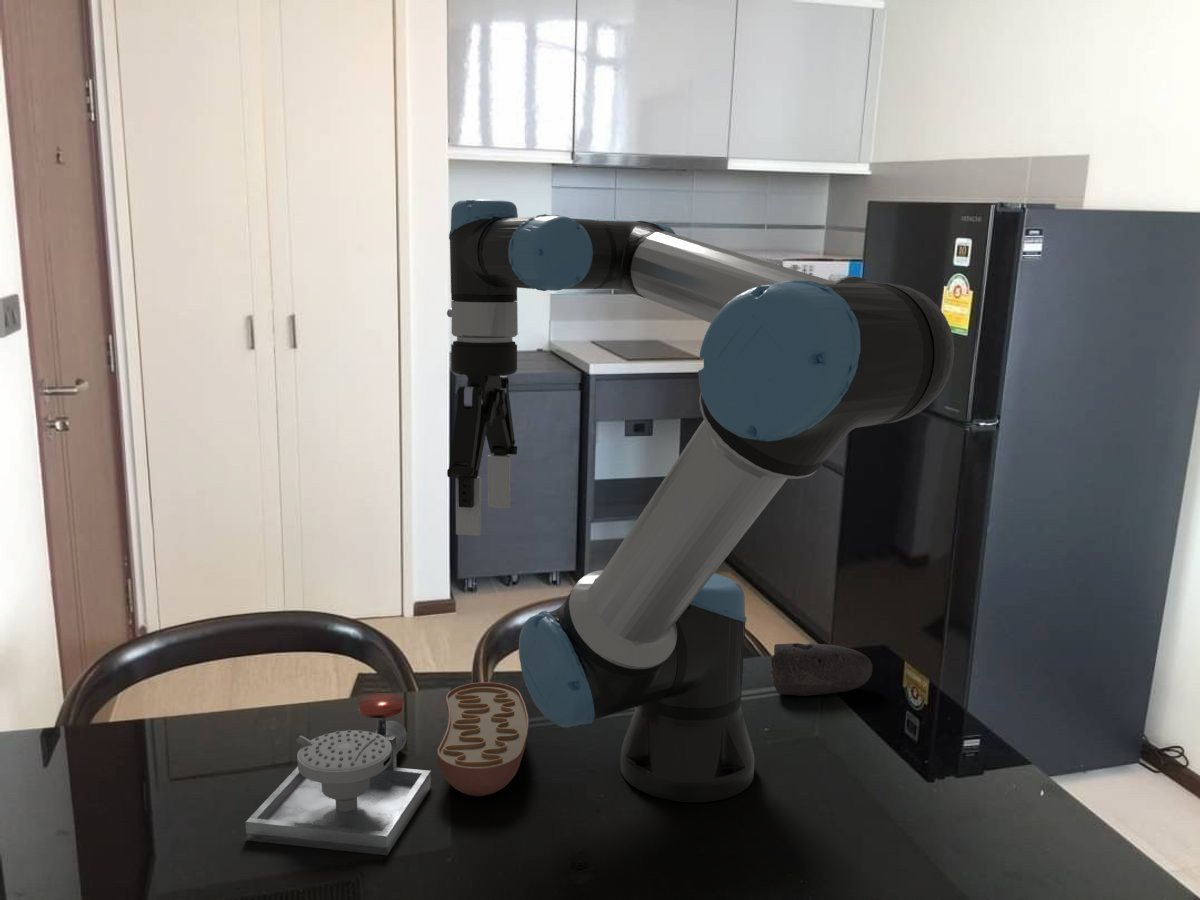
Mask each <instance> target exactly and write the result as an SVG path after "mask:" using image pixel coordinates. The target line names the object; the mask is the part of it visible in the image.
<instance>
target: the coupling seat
mask: <svg viewBox="0 0 1200 900" xmlns="http://www.w3.org/2000/svg"><path fill="white" fill-rule="evenodd" d="M357 704H358V705H357V706H358V709H357V710H358V713H359V714H360V715H362V716H363V717H366V718H371V719H376V730H375V731H374V733H376V734H379V735H382V736H384V737H385V738H387V739H388V740H389V741H390V743H391V746H392V754H391V762H390V764H389V766H388V767H387V768H386V769H385V770H384V771H382V772H381V773H379V774H377V775H375V776H373V777H371V778H370V787H369V789H368V790H367V791H366V792H365V793H364V794H362V795H361V796H359V797H357V808H355V809H354V810H352V811H348V812H341V811H338V810H337V809H336V800H335V799H331V798H329V797H327V796H325V795H324V794H323V792H322V783H319V782H315V781H312V780H309V779H307V778H305V777H304V776H302V775H301V773H300V772H299V770H298V766H296V767H295V769H294V770H293V771H292V772H291V773H290V774H289V775H288V776H287V778H284V780H283V781H282V783H280V784H279V786H278V787H277V788H276V789H275V790H274V791H273V792H272V793H271V794H270V795H269V796H268V797H267V798H266V800H265V801H263V803H262V804H260V806H259V807H258V808H257V809H256V810H255V811H254V812H253V813H252V814H251V815H250V816H249V818H248V819H247V820H246V821H245V834H246V835H245V840H246V841H249V842H256V843H257V842H258V843H265V844H267V843H268V844H274V845H275V844H277V845H286V846H295V847H304V848H313V849H321V850H322V849H323V850H334V851H343V852H353V853H360V854H361V853H362V854H371V855H379V856H380V855H381V856H388V854H390V852H391V850H392V849H393V847H395V844H396V843H397V841H398V839H399V838H400V836H401V835H402V833H403V832H404V831H405V829H406V827H407V825H408V824H409V822H410V821H411V819H412V818H413V816H414V814H416V812H417V810H418V809H419V807H420V806H421V804H422V802H423V800H425V798H426V796H427V795H428V793H429V791H430V790H431V788H432V773H431V772H432V771H431V770H427V769H415V768H406V767H405V768H404V767H403V768H402V767H398V766H397V755H398V754H399V752H400V751H401V750H402V749H403V747H404V746H405V744H406V743H407V741H408V733H407V729H406V728H405V726H404V725H403V724H402V723H400V722H398V721H396V720H387V719H386V718H391V717H394V716H396V715H398V714H400V713H401V712H402V711H403V710H404V698H403V697H402V696H401V695H398V694H396V693H389V692H388V693H387V692H383V693H382V692H379V693H373V694H369V695H366V696H363V697H362V698H361V699H359V701H358V703H357Z"/></svg>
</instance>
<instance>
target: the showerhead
mask: <svg viewBox="0 0 1200 900" xmlns="http://www.w3.org/2000/svg"><path fill="white" fill-rule="evenodd" d="M296 742H297V743H299V744H300V745H301V747H300V748H299V749H298V751H297V754H296V759H297V760H296V762H297V767H298V770H299V772H300V773H301V775H302V776H304V777H305V778H307V779H309V780H312V781H315V782H319V783H322V792H323V794H324V795H325V796H327V797H329V798H331V799H335V800H336V809H337V810H338V811H341V812H348V811H352V810H354V809H355V808H357V797H359V796H361V795H362V794H364V793H365V792H366V791H367V790H368V789H369V787H370V778H371V777H373V776H375V775H377V774H379V773H381V772H382V771H384V770H385V769H386V768H387V767H388V766H389V764H390V762H391V754H392V746H391V743H390V741H389V740H388V739H387V738H385V737H384V736H382V735H379V734H376V733H375V732H373V731H367V730H363V729H359V730H355V729H354V730H352V729H347V730H342V731H340V730H336V731H334V732H330V733H324V734H323V735H320V736H316V737H315V738H312V739H311V740H310V739H309V738H307V737H305V736H303V735H299V736H298V737H297V738H296Z"/></svg>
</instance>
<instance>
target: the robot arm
mask: <svg viewBox="0 0 1200 900" xmlns="http://www.w3.org/2000/svg"><path fill="white" fill-rule="evenodd" d="M450 212H451V215H450V231H449V234H448V239H449V258H450V259H449V263H450V266H449V267H450V295H451V298H450V300H451V302H450V303H451V308H448V309H447V312H446V316H448V318H451V334H452V335H453V337H456V340H453V341H452V343H451V344H450V348H451V350H450V352H451V353H450V355H451V357H450V360H451V361H450V362H451V364H450V367H451V368H450V369H451V371H452V372H453V373H454V374H455V375H461V376H466V377H467V381H466V386H458V387H457V390H456V395H457V397H456V399H457V401H456V413H455V419H454V420H455V421H454V428H453V437H452V444H451V453H450V459H449V467H448V469H447V470H446V471H447V473H446V475H447V478H454V479H455V535H459V536H476V537H477V536H478V537H480V536H481V535H482V477H481V476H479V472H480V467H481V461H482V457H483V453H484V452H483V451H484V447H485V440H486V441H487V443H488V444H487V445H488V447H489V452H490V454H488V455H487V508H490V509H491V508H492V509H510V508H511V456H512V455H517V454H518V446H517V445H516V440H515V439H516V438H515V432H514V424H513V416H512V409H511V400H510V391H509V390H510V389H509V388H510V387H509V383H510V379H509V376H511V375H513V374H515V373H516V372H517V371H518V344H517V343H516V342H515V341H514V340H513V338H515V337H517V335H519V333H518V330H519V328H518V324H519V323H518V316H519V315H518V288H519V289H529V290H537V291H540V292H541V291H542V292H546V291H554V292H555V291H562V290H617V291H618V290H620V291H625V292H628V293H630V294H633V295H635V296H639V297H641V298H644V299H647V300H650V301H652V302H655V303H657V304H661V305H663V306H665V307H668V308H671V309H673V310H675V311H677V312H678V311H679V312H681V313H684V314H686V315H688V316H692V317H693V318H697V319H700V320H702V321H705V322H707V323H710V324H709V326H708V329H707V331H706V332H705V335H704V337H703V340H702V343H701V346H700V352H699V359H702V360H703V367H702V368H700V369H698V372H697V373H698V383H699V388H700V395H699V408H700V412H701V416H702V418H703V420H702V421H701V423H700V424H699V426H698V428H697V429H696V430H695V432H694V434H692V437H691V438H690V440H689V441H688V443H687V444H686V446H685V447H684V448H683V450H682V452H681V453H680V455H679V456H678V457H677V459H676V460H675V462H674V464H673V465H672V467H671V468H670V470H669V471H668V472H667V475H666V476H665V477H664V478H663V480H662V482H661V483H660V485H659V486H658V487H657V489H656V490H655V492H654V494H653V496H652V497H651V498H650V500H649V501H648V503H647V505H646V506H645V507H644V509H643V510H642V512H641V513H640V514H639V516H638V518H637V519H636V521H635V522H634V524H632V525H633V526H632V527H631V528H630V530H629V531H628V533H627V535H626V536H625V537H624V539H623V540H622V541H621V544H620V545H619V546H618V547H617V549H616V551H615V552H614V554H613V556H612V557H611V559H610V560H609V562H608V563H607V565H606V566H605V568H604V569H600V570H594V571H592V572H589V573H586V574H585V575H584V576H583V577H581V578H580V579H579V580H578V581H577V582H576V583H575V585H574V586H573V588H572V589H571V590H570V593H569V594H568V596H567V597H566V598H565V600H564V602H563V603H562V604H561V605H560V606H559V607H558V608H556V609H554V610H552V611H546V610H544V611H540V612H538V613H537V614H534V615H532V616H530V617H529V618H528V619H527V620H526V621H525V622H523V625H522V627H521V630H520V633H519V638H518V657H519V662H520V669H521V673H522V674H521V675H522V677H523V680H524V684H525V686H526V689H527V691H528V694H529V695H530V698H531V699H532V701H533V703H534V705H535V706H536V708H537V709H538V711H540V713H541V714H542V715H543V716H544V717H545V718H546V719H547V720H548V721H550V722H551V723H554V724H555V725H556V726H559V727H561V728H571V727H576V726H580V725H591V724H592V723H594V721H596V720H600V719H603V718H606V717H609V716H612V715H616V714H618V713H621V712H624V711H628V710H630V709H634V712H633V714H632V717H631V721H630V723H629V725H628V727H627V731H626V734H625V736H624V738H623V741H622V742H623V743H622V745H621V747H620V748H621V749H620V773H621V775H622V776H623V778H624V779H625V781H626V782H628V784H629V785H631V786H632V787H634V788H636V789H637V790H639V791H640V792H643V793H645V794H647V795H649V796H652V797H655V798H659V799H663V800H667V801H673V802H680V803H708V802H709V803H710V802H716V801H722V800H725V799H729V798H732V797H734V796H737V795H739V794H740V793H742V792H744V791H745V790H747V789H748V788H749V787H750V786H751V784H752V782H753V780H754V777H755V753H754V751H753V745H752V743H751V740H750V736H749V732H748V730H747V726H746V722H745V719H744V715H743V712H742V711H743V710H742V692H743V675H744V674H743V673H744V657H745V656H744V654H745V639H746V638H745V635H746V634H745V633H746V622H747V619H748V618H747V617H746V598H745V593H744V590H743V589H742V587H741V585H740V584H739V583H737V582H736V581H735V580H733V579H731V578H729V577H727V576H724V575H721V574H718V573H716V572H717V570H718V569H719V567H720V566H721V565H722V563H724V561H725V560H726V558H727V557H728V556H729V555H730V553H731V552H732V551H733V550H734V548H736V546H737V544H738V543H739V541H740V540H741V539H742V538H743V537H744V535H745V533H747V531H748V530H749V529H750V527H751V526H752V525H753V524H754V523H755V522H756V520H757V518H759V516H760V515H761V513H762V512H763V511H764V510H765V508H766V507H767V506H768V505H769V503H770V502H771V501H772V499H773V498H774V497H775V495H776V494H777V493H778V491H780V490H781V488H782V487H783V486H784V484H785V482H786V481H787V480H789V479H791V480H796V479H805V478H807V477H810V476H812V475H814V474H815V473H816V472H817V471H818V470H820V468H821V467H822V466H823V464H824V463H825V462H826V461H827V459H828V458H829V457H830V456H831V455H832V453H833V452H835V450H836V448H837V447H838V446H839V444H840V443H841V442H842V441H843V440H844V439H845V437H846V436H847V435H848V434H849V433H851V432H852V430H854V429H856V428H857V429H858V428H862V427H871V426H878V425H883V424H891V423H892V424H893V423H897V422H899V421H902V420H906V419H908V418H911V417H912V416H914V415H917V414H918V413H920V412H921V411H923V410H924V409H926V408H928V406H929V405H931V404H932V403H933V402H934V400H935V399H937V397H938V396H939V395H940V394H941V392H942V391H943V389H944V388H945V386H946V384H947V382H948V380H949V378H950V375H951V372H952V370H953V366H954V361H955V360H954V357H955V344H954V336H953V331H952V329H951V326H950V324H949V322H948V319H947V317H946V316H945V314H944V313H943V311H942V310H941V308H940V307H939V306H938V305H937V303H935V302H934V301H933V300H932V299H931V298H930V297H928V296H927V295H925V294H924V293H923V292H921V291H919V290H916V289H914V288H912V287H910V286H905V285H901V284H897V283H896V284H895V283H887V282H886V283H885V282H884V283H883V282H878V281H875V280H870V279H867V278H864V277H860V276H857V275H856V276H855V275H849V276H844V277H842V278H839V279H837V280H836V281H833V280H830V279H827V278H823V277H820V276H816V275H812V274H810V273H807V272H803V271H799V270H796V269H793V268H790V267H786V266H783V265H780V264H776V263H773V262H770V261H766V260H763V259H759V258H756V257H753V256H750V255H746V254H743V253H739V252H736V251H733V250H728V249H725V248H722V247H719V246H716V245H713V244H708V243H705V242H702V241H699V240H695V239H691V238H688V237H685V236H681V235H679V234H677V233H675V231H674V229H673V228H672V227H670V226H668V225H665V224H662V223H661V224H660V223H655V222H652V221H647V220H646V221H645V220H637V221H622V220H621V221H619V220H617V221H616V220H600V219H585V218H573V217H568V216H563V215H559V214H552V215H551V214H546V213H544V214H538V215H535V216H525V217H524V216H523V217H519V215H518V209H517V206H516V204H515V203H513V202H512V201H509V200H497V199H462V200H458V201H456V202H455V203H454V204H453V205H452V207H451V211H450Z"/></svg>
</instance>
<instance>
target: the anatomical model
mask: <svg viewBox="0 0 1200 900" xmlns="http://www.w3.org/2000/svg"><path fill="white" fill-rule="evenodd" d="M445 703H446V709H447V713H448V722H447V728H446V730H445V733H444V735H443V738H442V740H441V742H440V744H439V746H438V747H437V751H436V754H437V755H436V756H437V761H438V766H439V769H440V771H441V773H442V776H443V778H444V779H445V780H446V781H447V783H448V784H449V785H450V786H451V787H452V788H454V789H455V790H457V791H458V792H461V793H462V794H465V795H468V796H472V797H484V796H489V795H493V794H495V793H497V792H500V791H501V790H503V789H504V788H505V787H507V786H508V784H509V783H510V782H511V781H512V780H513V779H514V777H515V776H516V774H517V772H518V770H519V768H520V765H521V761H522V758H523V756H524V752H525V748H526V745H527V738H528V733H529V725H530V724H529V714H528V711H527V707H526V703H525V701H524V699H523V696H522V694H521V692H520V691H519V690H518V689H517V688H516V687H513V686H510V685H508V684H505V683H501V682H489V681H483V682H472V683H471V682H470V683H466V684H461V685H459V686H457V687H454V688H453V689H451V690H450V691H449V692H447V694H446V696H445Z"/></svg>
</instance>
